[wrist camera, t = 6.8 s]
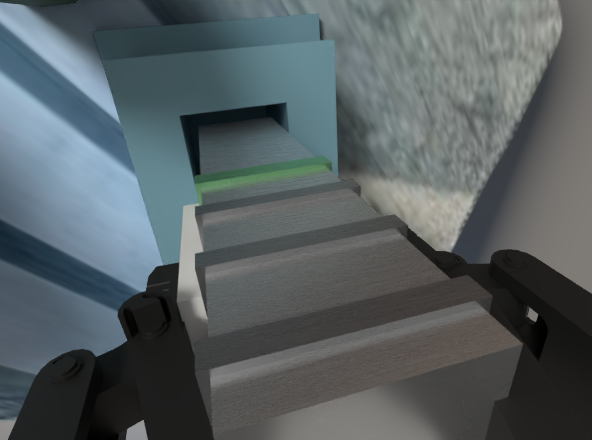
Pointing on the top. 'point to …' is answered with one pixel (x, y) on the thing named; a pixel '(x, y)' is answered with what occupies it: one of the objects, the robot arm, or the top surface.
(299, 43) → the stand base
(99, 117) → the top surface
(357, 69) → the top surface
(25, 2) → the bottle
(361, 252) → the column
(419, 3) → the top surface
